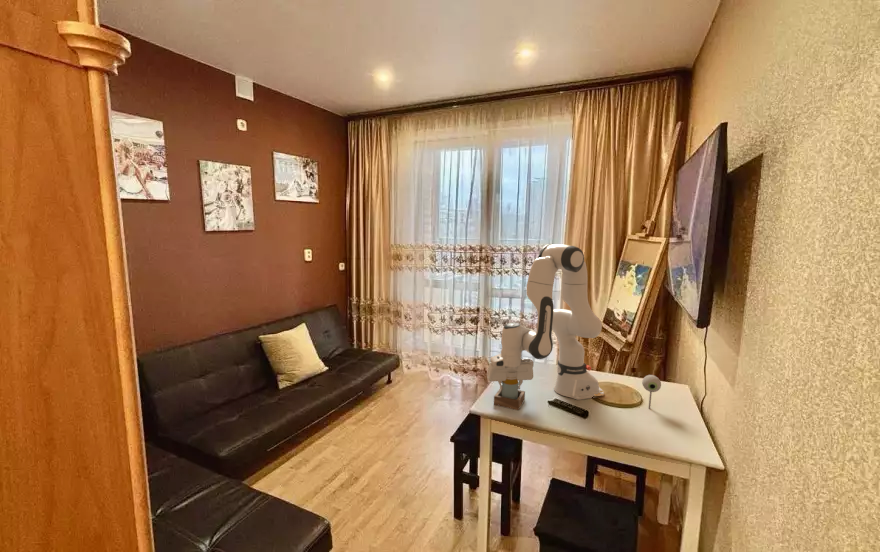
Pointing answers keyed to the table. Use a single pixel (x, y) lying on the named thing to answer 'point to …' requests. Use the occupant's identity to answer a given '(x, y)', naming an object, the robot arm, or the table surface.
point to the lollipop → (651, 385)
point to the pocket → (509, 400)
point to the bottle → (510, 386)
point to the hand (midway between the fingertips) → (509, 389)
